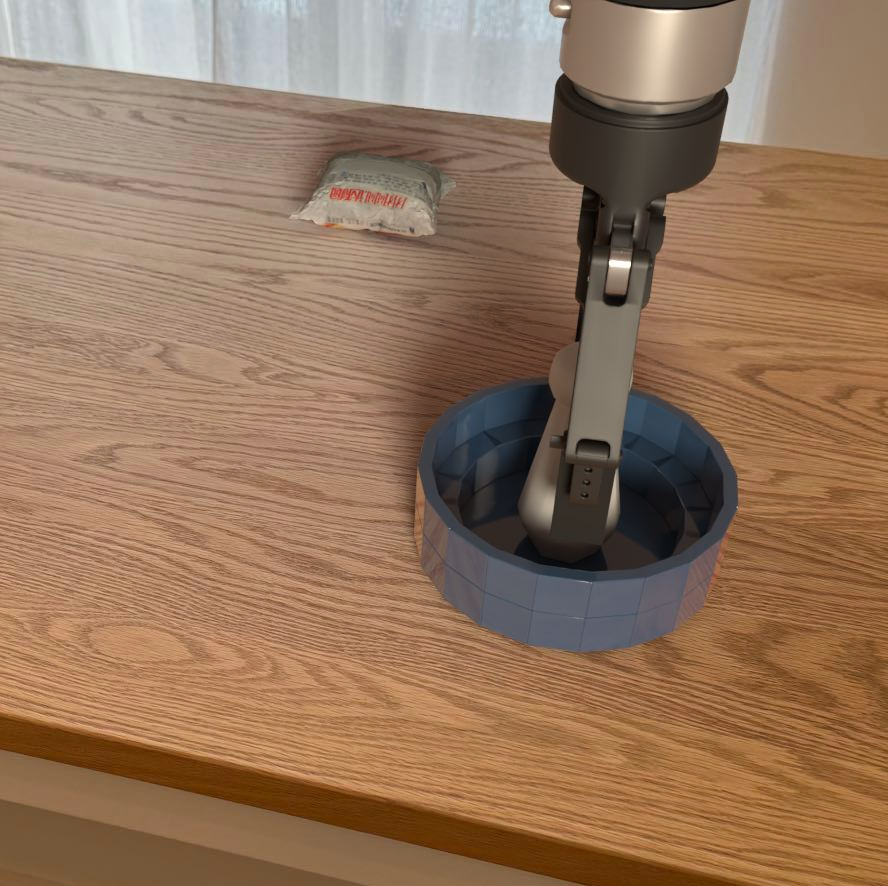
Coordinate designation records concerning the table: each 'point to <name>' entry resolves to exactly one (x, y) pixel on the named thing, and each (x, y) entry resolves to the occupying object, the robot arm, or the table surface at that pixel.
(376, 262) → the table surface
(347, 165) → the packaged food
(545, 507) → the cream pestle
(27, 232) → the table surface
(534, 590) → the bowl
